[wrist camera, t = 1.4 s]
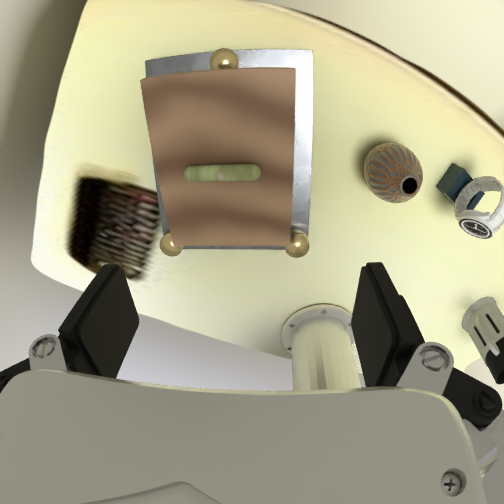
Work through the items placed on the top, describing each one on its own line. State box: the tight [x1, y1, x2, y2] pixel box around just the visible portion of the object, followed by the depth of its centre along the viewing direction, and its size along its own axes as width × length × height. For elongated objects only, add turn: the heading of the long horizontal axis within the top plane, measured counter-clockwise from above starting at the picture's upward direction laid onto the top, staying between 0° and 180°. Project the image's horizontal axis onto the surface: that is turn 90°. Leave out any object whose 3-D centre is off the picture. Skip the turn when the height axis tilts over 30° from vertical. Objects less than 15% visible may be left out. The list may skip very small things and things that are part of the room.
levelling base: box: [145, 48, 313, 257], centre depth 34 cm, size 25×19×6 cm
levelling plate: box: [140, 67, 296, 246], centre depth 30 cm, size 20×14×3 cm
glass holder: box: [462, 297, 504, 384], centre depth 40 cm, size 9×14×15 cm, turn 59°
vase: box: [363, 143, 423, 203], centre depth 32 cm, size 7×7×9 cm
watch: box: [436, 163, 504, 239], centre depth 31 cm, size 6×8×11 cm
